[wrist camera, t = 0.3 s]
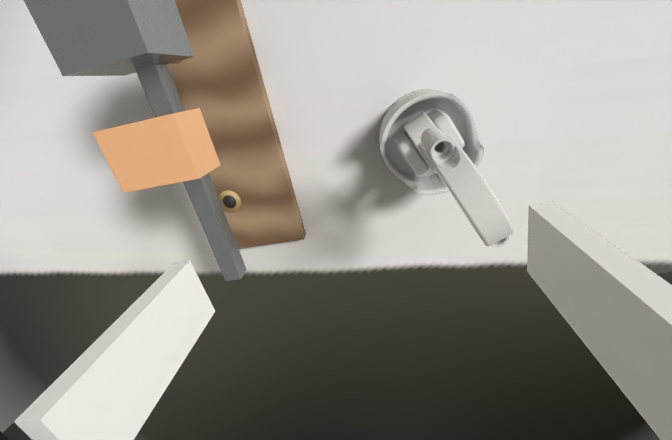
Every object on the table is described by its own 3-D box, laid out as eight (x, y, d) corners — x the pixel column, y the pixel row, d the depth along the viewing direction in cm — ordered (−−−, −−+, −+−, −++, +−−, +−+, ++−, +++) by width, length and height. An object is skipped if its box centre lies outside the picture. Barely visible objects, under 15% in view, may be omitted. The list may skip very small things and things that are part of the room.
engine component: (438, 68, 33) (362, 126, 37) (525, 63, 15) (355, 181, 18) (486, 150, 36) (411, 197, 40) (607, 230, 18) (449, 305, 21)
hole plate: (129, 4, 33) (118, 1, 32) (232, -28, 31) (225, -33, 30) (226, 245, 45) (221, 251, 44) (305, 234, 43) (303, 240, 42)
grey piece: (151, 23, 33) (20, -7, 20) (212, 5, 31) (111, -39, 19) (236, 242, 43) (183, 310, 31) (284, 235, 42) (249, 302, 30)
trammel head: (182, 112, 36) (91, 132, 24) (239, 99, 34) (172, 113, 23) (199, 155, 38) (123, 193, 26) (253, 144, 36) (199, 178, 25)
